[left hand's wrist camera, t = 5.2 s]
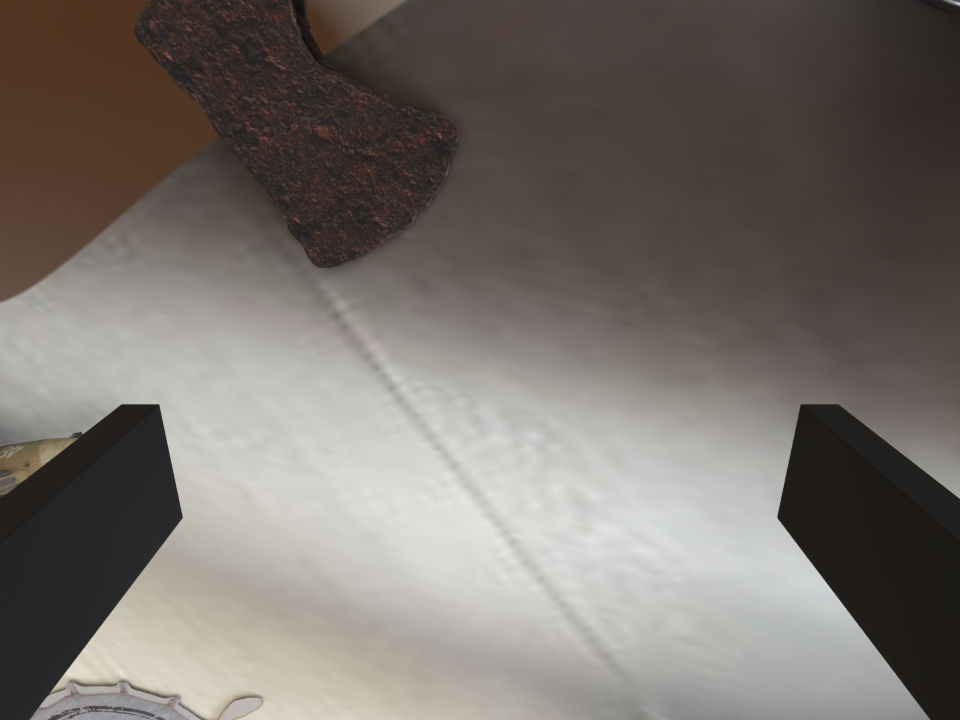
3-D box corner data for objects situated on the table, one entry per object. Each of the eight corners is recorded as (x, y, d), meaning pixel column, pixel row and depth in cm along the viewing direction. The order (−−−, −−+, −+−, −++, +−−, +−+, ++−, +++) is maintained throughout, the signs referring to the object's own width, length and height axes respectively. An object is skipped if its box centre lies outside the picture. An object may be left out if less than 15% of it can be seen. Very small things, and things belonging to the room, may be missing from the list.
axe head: (517, 144, 38) (345, 308, 39) (480, 143, 46) (336, 281, 46) (294, -154, 30) (79, 55, 31) (292, -98, 38) (119, 71, 38)
